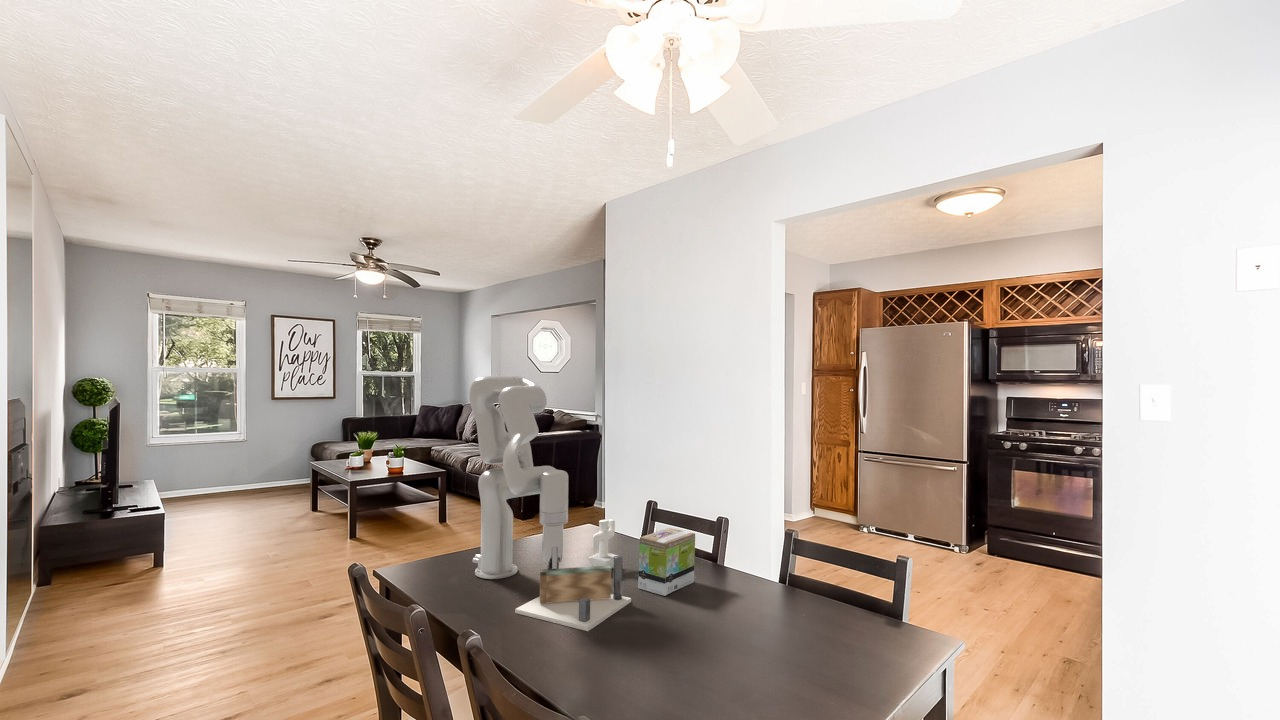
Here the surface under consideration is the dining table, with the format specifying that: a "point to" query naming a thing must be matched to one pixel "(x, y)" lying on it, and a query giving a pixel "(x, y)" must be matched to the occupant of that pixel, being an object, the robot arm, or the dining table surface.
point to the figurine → (603, 544)
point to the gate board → (572, 611)
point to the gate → (575, 583)
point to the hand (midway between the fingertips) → (552, 585)
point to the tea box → (666, 561)
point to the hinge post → (617, 590)
